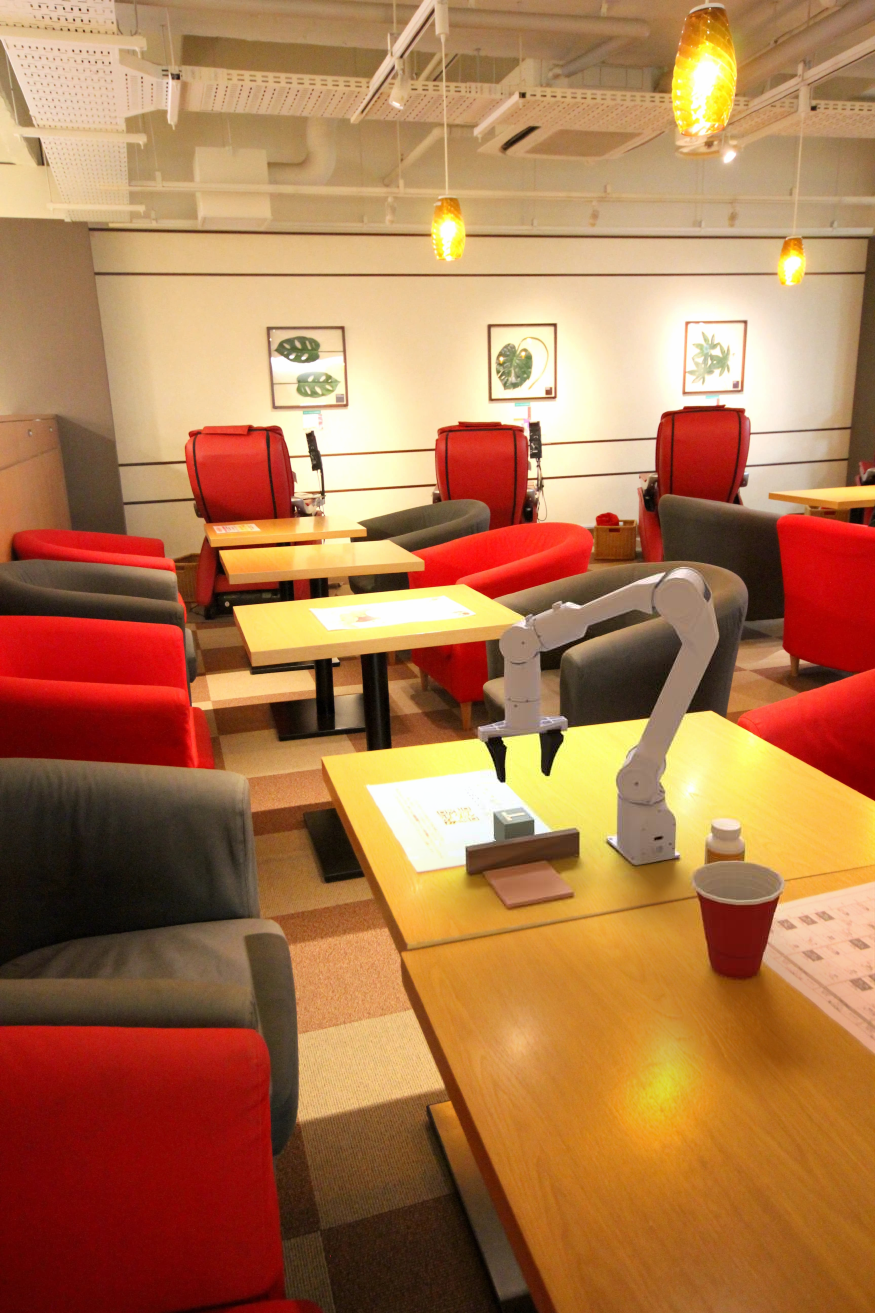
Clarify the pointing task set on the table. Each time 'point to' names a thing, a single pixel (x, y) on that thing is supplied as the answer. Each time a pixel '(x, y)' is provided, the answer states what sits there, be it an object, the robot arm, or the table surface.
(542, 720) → the robot arm
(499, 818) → the lettered cube
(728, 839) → the supplement bottle
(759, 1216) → the table surface
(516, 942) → the table surface
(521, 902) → the terracotta tile
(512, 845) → the walnut plank
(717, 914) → the plastic cup
